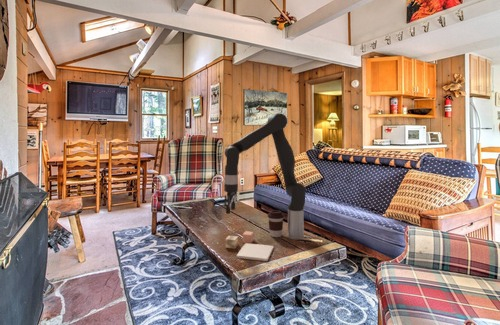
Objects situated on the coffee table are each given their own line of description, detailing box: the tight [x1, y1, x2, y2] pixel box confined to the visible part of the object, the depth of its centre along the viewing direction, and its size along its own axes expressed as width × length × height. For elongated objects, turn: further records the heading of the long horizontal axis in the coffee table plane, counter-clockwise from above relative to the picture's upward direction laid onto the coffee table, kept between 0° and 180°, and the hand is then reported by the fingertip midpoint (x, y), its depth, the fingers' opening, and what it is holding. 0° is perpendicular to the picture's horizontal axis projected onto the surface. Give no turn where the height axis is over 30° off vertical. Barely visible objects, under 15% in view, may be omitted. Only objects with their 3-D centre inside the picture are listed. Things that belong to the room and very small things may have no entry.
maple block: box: [225, 235, 239, 249], centre depth 152 cm, size 6×6×5 cm
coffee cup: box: [267, 209, 285, 238], centre depth 167 cm, size 10×10×15 cm
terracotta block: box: [242, 230, 254, 244], centre depth 159 cm, size 5×5×5 cm
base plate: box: [236, 243, 274, 262], centre depth 144 cm, size 16×16×1 cm
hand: (230, 211), depth 151 cm, fingers open, 8 cm apart
